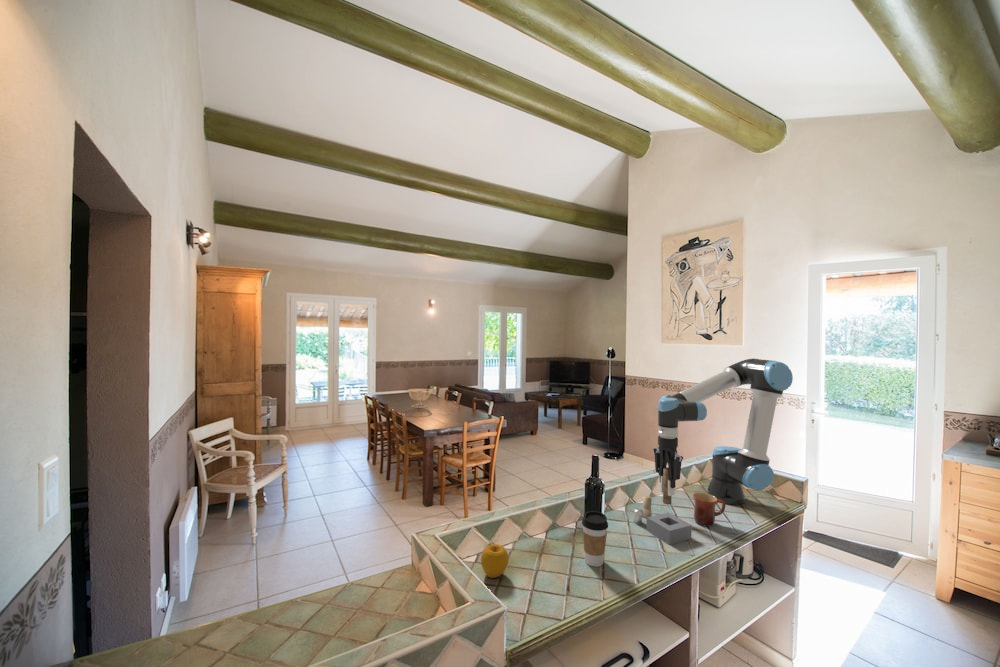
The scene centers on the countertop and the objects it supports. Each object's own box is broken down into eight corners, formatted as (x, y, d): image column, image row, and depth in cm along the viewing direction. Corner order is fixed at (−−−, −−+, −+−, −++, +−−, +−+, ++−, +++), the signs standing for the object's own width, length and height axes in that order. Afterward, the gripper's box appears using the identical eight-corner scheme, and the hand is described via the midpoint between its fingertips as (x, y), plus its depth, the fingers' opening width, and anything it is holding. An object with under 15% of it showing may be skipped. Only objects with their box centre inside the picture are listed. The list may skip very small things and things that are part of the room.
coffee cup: (608, 557, 139) (609, 512, 139) (605, 571, 131) (607, 524, 131) (582, 552, 142) (583, 508, 141) (579, 565, 134) (580, 519, 133)
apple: (499, 587, 122) (499, 557, 122) (474, 578, 126) (475, 549, 126) (512, 572, 129) (513, 544, 129) (489, 564, 134) (489, 537, 133)
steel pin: (638, 520, 166) (638, 507, 166) (644, 523, 163) (644, 511, 163) (631, 521, 165) (632, 509, 165) (637, 525, 162) (638, 512, 162)
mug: (696, 527, 161) (697, 501, 161) (688, 516, 170) (689, 492, 170) (729, 529, 160) (730, 503, 160) (719, 519, 169) (720, 493, 169)
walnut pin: (666, 500, 172) (667, 467, 172) (673, 503, 169) (673, 469, 169) (661, 501, 171) (661, 468, 170) (667, 505, 168) (667, 470, 168)
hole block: (667, 525, 163) (668, 512, 162) (691, 538, 153) (691, 525, 153) (646, 530, 158) (646, 517, 158) (669, 544, 148) (669, 530, 148)
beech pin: (646, 514, 171) (647, 495, 171) (652, 517, 168) (653, 498, 168) (640, 515, 170) (641, 496, 170) (646, 519, 167) (647, 499, 167)
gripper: (646, 432, 175) (645, 487, 176) (677, 442, 160) (676, 502, 161) (659, 430, 178) (658, 484, 179) (691, 440, 164) (690, 499, 164)
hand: (667, 493), depth 170 cm, fingers closed on walnut pin, 3 cm apart
